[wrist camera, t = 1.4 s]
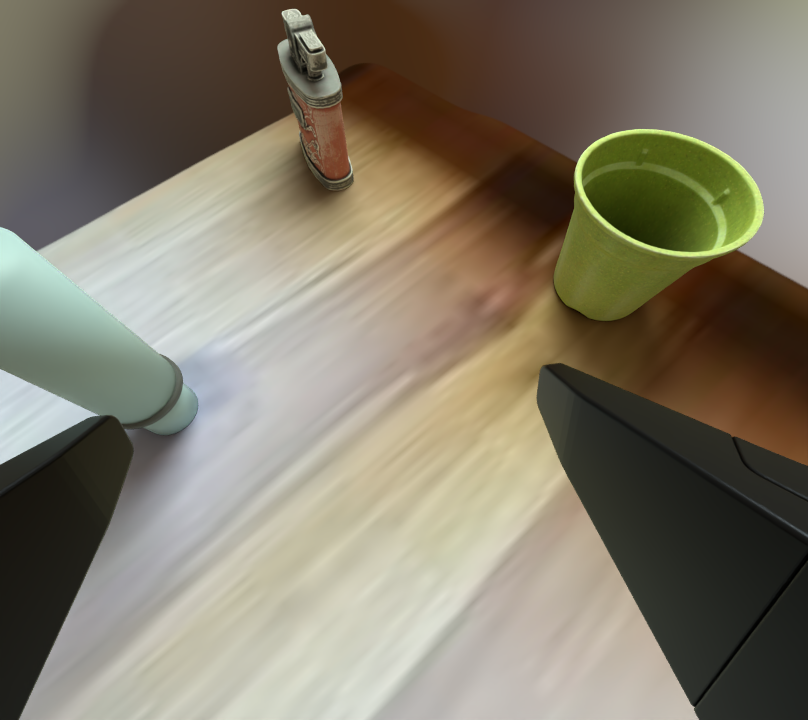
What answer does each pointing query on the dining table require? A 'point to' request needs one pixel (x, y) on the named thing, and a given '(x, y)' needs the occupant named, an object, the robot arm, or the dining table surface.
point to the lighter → (315, 101)
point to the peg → (83, 347)
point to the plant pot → (650, 218)
